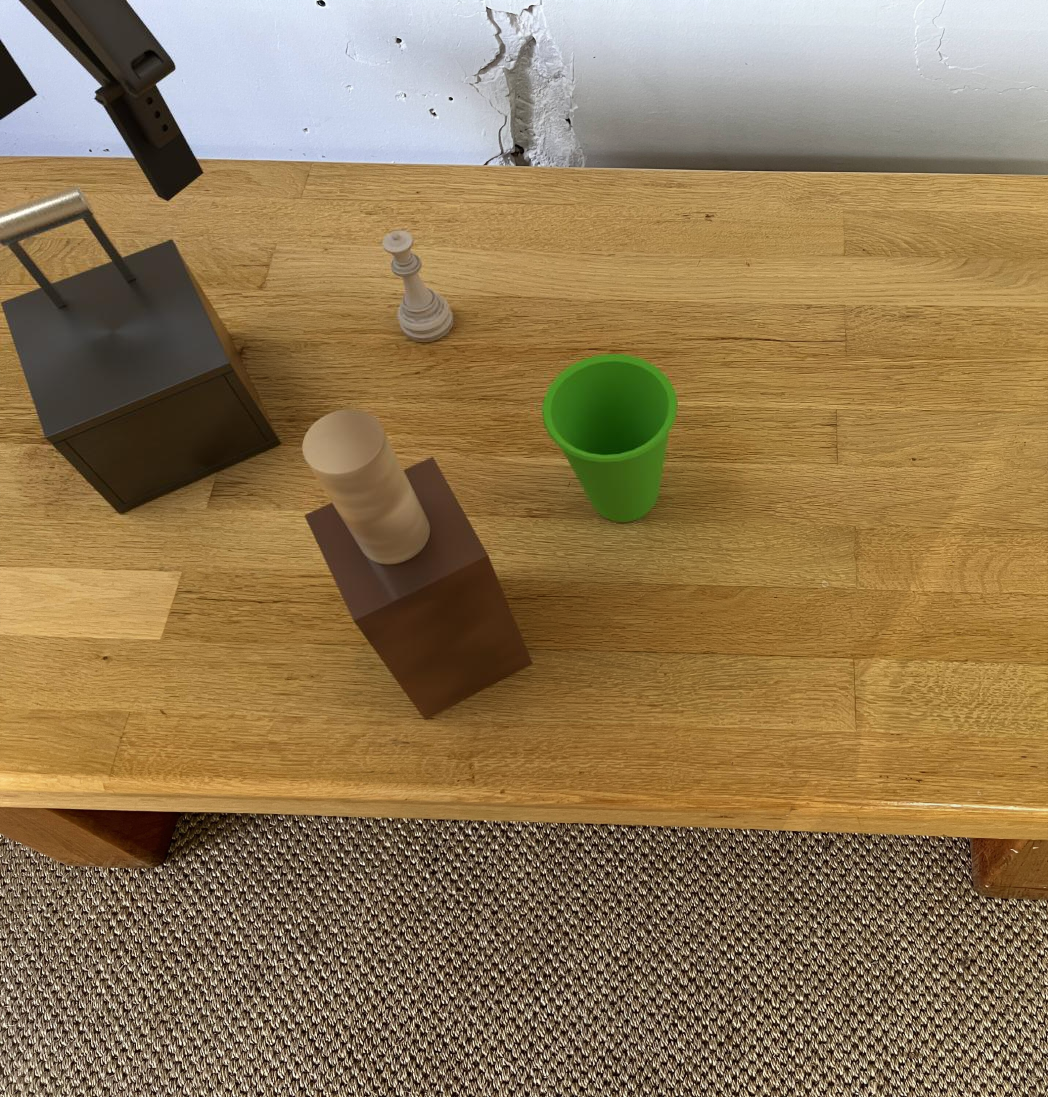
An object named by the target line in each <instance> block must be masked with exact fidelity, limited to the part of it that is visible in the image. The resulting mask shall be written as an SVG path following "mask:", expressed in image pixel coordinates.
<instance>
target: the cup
mask: <svg viewBox="0 0 1048 1097" xmlns="http://www.w3.org/2000/svg"><path fill="white" fill-rule="evenodd" d="M677 398H678V397H677V394H676V389H675V388H674V386H673V384H672V382H671V380H670V379H669V378H668V376H667V375H665V373H663V372H662V371H661V370H660V369H659V368H658V366H655V365H654V364H652V363H651V362H648V361H647V360H645V359H643V358H639V357H637V356H634V355H630V354H621V353H607V354H597V355H593V356H590V357H586V358H584V359H581V360H579V361H576V362H575V363H573V364H570V365H569V366H568V367H567V368H566V369H564V370H562V372H560V373H559V374H558V375H557V376H556V378H555V379H554V380H553V381H552V382H551V384H549V387H548V389H547V392H546V393H545V396H544V398H543V402H542V407H541V415H542V416H541V417H542V423H543V426H544V428H545V430H546V432H547V435H548V437H549V438H550V439H551V440H552V441H553V442H554V443H555V445H557V446H558V447H559V448H560V449H561V450H562V453H563V454H564V456H565V458H566V459H567V461H568V463H569V465H570V467H571V469H572V470H573V472H574V475H575V476H576V478H577V480H578V482H579V484H580V485H581V487H582V489H583V491H584V493H585V495H586V497H587V498H588V500H589V502H590V504H591V506H592V508H593V509H594V510H595V511H596V513H597V514H599V515H600V516H602V517H604V518H605V519H607V520H610V521H612V522H616V523H617V522H618V523H630V522H634V521H637V520H639V519H641V518H644V517H645V516H646V515H647V514H648V513H649V512H650V511H651V510H652V509H653V508H654V506H655V505H656V504H657V501H658V498H659V495H660V490H661V489H660V488H661V482H662V478H663V470H664V464H665V458H666V453H667V446H668V439H669V434H670V431H671V429H672V428H673V426H674V423H675V420H676V418H677V415H678V403H679V402H678V399H677Z"/></svg>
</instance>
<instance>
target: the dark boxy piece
mask: <svg viewBox="0 0 1048 1097" xmlns="http://www.w3.org/2000/svg"><path fill="white" fill-rule="evenodd" d="M181 257H182V259H183V261H184V263H185V265H186V267H187V269H188V272H189V274H190V276H191V278H192V280H193V282H194V284H195V287H196V289H197V291H198V293H199V295H200V297H201V300H202V302H203V304H204V306H205V308H206V310H207V312H208V315H209V317H210V319H211V321H212V323H213V325H214V327H215V330H216V332H217V334H218V336H219V338H220V340H221V342H222V345H223V347H224V349H225V351H226V353H227V355H228V358H229V360H230V362H231V364H232V366H233V368H234V370H232V371H230V372H228V373H225V374H223V375H220V376H218V377H215V378H213V379H211V380H208V381H206V382H203V383H201V384H198V385H196V386H193V387H191V388H189V389H186V390H184V391H181V392H179V393H176V394H174V395H171V396H169V397H167V398H164V399H162V400H159V401H157V402H154V403H152V404H149V405H147V406H145V407H142V408H140V409H137V410H135V411H132V412H130V413H127V414H125V415H123V416H120V417H118V418H115V419H113V420H110V421H108V422H105V423H103V424H101V425H98V426H96V427H93V428H91V429H88V430H86V431H84V432H81V433H79V434H76V435H74V436H71V437H69V438H66V439H64V440H62V441H59V442H57V443H54V444H51V445H52V447H54V448H55V450H56V451H58V453H59V454H60V455H61V456H62V457H63V458H64V460H66V461H67V462H68V463H69V464H70V465H71V466H72V467H73V469H75V470H76V471H77V472H78V474H80V475H81V477H82V478H84V480H85V481H86V482H87V483H88V484H89V485H90V486H91V487H92V488H93V489H94V490H95V491H96V492H97V493H98V494H99V495H100V496H101V497H102V498H103V499H104V500H105V501H106V503H108V504H109V506H111V507H112V509H113V510H115V512H116V513H117V514H118V515H121V514H124V513H126V512H128V511H131V510H133V509H135V508H137V507H140V506H142V505H145V504H148V503H149V502H152V501H154V500H156V499H159V498H161V497H162V496H163V497H164V496H165V495H168V494H170V493H172V492H174V491H178V490H179V489H181V488H184V487H186V486H188V485H191V484H192V483H195V482H197V481H200V480H203V479H204V478H206V477H209V476H211V475H213V474H216V473H218V472H221V471H223V470H225V469H228V468H230V467H232V466H234V465H237V464H239V463H241V462H244V461H246V460H248V459H250V458H253V457H255V456H258V455H260V454H262V453H265V452H267V451H269V450H271V449H274V448H276V447H278V446H280V445H282V441H281V438H280V437H279V435H278V433H277V431H276V429H275V427H274V424H273V422H272V420H271V417H270V416H269V414H268V412H267V410H266V407H265V405H264V403H263V401H262V399H261V397H260V395H259V393H258V391H257V388H256V386H255V385H254V382H253V380H252V378H251V376H250V374H249V372H248V370H247V367H246V365H245V363H244V361H243V359H242V357H241V355H240V353H239V351H238V349H237V346H236V344H235V342H234V340H233V337H232V336H231V334H230V332H229V330H228V328H227V327H226V325H225V323H224V322H223V320H222V318H221V317H220V315H219V313H218V312H217V311H216V309H215V308H214V306H213V304H212V303H211V301H210V299H209V298H208V297H207V295H206V292H205V291H204V290H203V287H201V285H200V283H199V281H198V280H197V278H196V276H195V275H194V274H193V272H192V270H191V268H190V267H189V265H188V264H187V262H186V261H185V259H184V257H183V256H182V255H181Z"/></svg>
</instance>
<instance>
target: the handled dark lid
mask: <svg viewBox="0 0 1048 1097" xmlns="http://www.w3.org/2000/svg"><path fill="white" fill-rule="evenodd" d="M81 220H83V222H84V223H85V224H86V227H87V228H88V229H89V230H90V232H91V233H92V235H93V236H94V237H95V239H96V240H97V242H98V243H99V245H100V246H101V247H102V249H103V250H104V252H105V253H106V255H107V256H108V258H109V259H110V260H111V261H109V262H107V263H104V264H101V265H98V266H95V267H93V268H90V269H88V270H85V271H81V272H79V273H77V274H74V275H71V276H68V277H66V278H63V279H59V280H57V281H55V282H53V281H52V280H51V279H50V278H49V276H48V275H47V274H46V273H45V271H44V270H43V268H41V266H40V264H38V262H37V261H36V260H35V259H34V257H33V256H32V255H31V254H30V252H29V251H28V250H27V248H26V247H25V246H24V245H23V243H22V242H21V241H24V240H27V239H29V238H33V237H35V236H38V235H42V234H43V233H46V232H49V231H52V230H55V229H57V228H61V227H63V226H66V225H69V224H72V223H75V222H77V221H81ZM0 245H1V246H3V247H7V248H9V251H11V252H12V253H13V255H14V256H15V257H16V258H17V260H18V261H19V262H20V263H21V265H22V266H23V267H24V268H25V270H26V271H27V272H28V273H29V275H30V276H31V277H32V279H33V280H34V281H35V282H36V283H37V284H38V286H39V288H36V289H33V290H31V291H28V292H25V293H22V294H20V295H16V296H14V297H12V298H9V299H6V300H4V301H0V305H1V307H2V311H3V314H4V317H5V320H6V323H7V327H8V329H9V332H10V335H11V339H12V341H13V344H14V347H15V351H16V353H17V356H18V359H19V362H20V365H21V368H22V372H23V374H24V378H25V380H26V384H27V387H28V390H29V394H30V396H31V399H32V402H33V406H34V408H35V411H36V414H37V417H38V421H39V424H40V427H41V429H42V432H43V435H44V439H46V441H48V442H49V444H51V445H52V444H54V443H57V442H59V441H62V440H64V439H66V438H69V437H71V436H74V435H76V434H79V433H81V432H84V431H86V430H88V429H91V428H93V427H96V426H98V425H101V424H103V423H105V422H108V421H110V420H113V419H115V418H118V417H120V416H123V415H125V414H127V413H130V412H132V411H135V410H137V409H140V408H142V407H145V406H147V405H149V404H152V403H154V402H157V401H159V400H162V399H164V398H167V397H169V396H171V395H174V394H176V393H179V392H181V391H184V390H186V389H189V388H191V387H193V386H196V385H198V384H201V383H203V382H206V381H208V380H211V379H213V378H215V377H218V376H220V375H223V374H225V373H228V372H230V371H232V370H234V368H233V366H232V364H231V362H230V360H229V358H228V355H227V353H226V351H225V349H224V347H223V345H222V342H221V340H220V338H219V336H218V334H217V332H216V330H215V327H214V325H213V323H212V321H211V319H210V317H209V315H208V312H207V310H206V308H205V306H204V304H203V302H202V300H201V297H200V295H199V293H198V291H197V289H196V287H195V284H194V282H193V280H192V278H191V276H190V274H189V272H188V269H187V267H186V265H185V263H184V261H183V259H184V258H183V259H182V257H183V256H182V254H181V252H180V251H179V248H178V246H177V244H176V243H175V241H174V240H173V239H168V240H166V241H163V242H160V243H158V244H154V245H152V246H149V247H146V248H144V249H141V250H139V251H136V252H134V253H130V254H129V255H125V256H123V255H122V253H121V252H120V251H119V249H118V248H117V246H116V245H115V243H114V242H113V240H112V239H111V237H110V236H109V234H108V232H106V231H105V228H104V227H103V226H102V224H101V223H100V222H99V220H98V219H97V217H96V215H95V212H94V208H93V207H92V205H91V203H90V202H89V200H88V199H87V197H86V195H85V193H84V192H83V190H82V189H81V188H80V187H79V186H78V185H75V186H72V187H68V188H67V189H66V188H65V189H63V190H60V191H57V192H55V193H52V194H48V195H46V196H43V197H40V198H38V199H35V200H31V201H27V202H25V203H23V204H20V205H17V206H15V207H12V208H9V209H5V210H2V211H0ZM181 256H182V257H181Z"/></svg>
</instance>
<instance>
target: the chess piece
mask: <svg viewBox="0 0 1048 1097" xmlns="http://www.w3.org/2000/svg"><path fill="white" fill-rule="evenodd" d="M414 242H415V241H414V237H413V236H412V234H411V233H410V232H408V231H405V230H393V231H392V232H389V233H388V234H387V235H385V236H384V237H383V239H382V242H381V243H382V248H383V250H384V251H385V252H387V253H388V254H390V255H392V256H393V258H392V259H391V261H390V269H391V272H392V273H393V274H394V275H395V276H397V277H399V278H401V279H402V281H403V285H404V286H403V287H404V294H403V295H402V297H401V303H400V305H399V307H398V310H397V320H398V322H399V326H400V329H401V331H402V333H403V334H404V335H405V337H406V338H408V339H409V340H411V341H414V342H417V343H428V342H429V343H430V342H433V341H438V340H439V339H441V338H443V337H445V335H447V334H448V333H449V332H450V330H451V329H452V328H453V325H454V315H453V312H452V309H451V307H450V305H449V302H448V300H447V299H446V298H445V297H443V296H442V295H440V294H439V293H437V292H435V291H434V290H433V289H432V288H430V287H428V286H426V285H425V284H424V282H423V280H422V279H421V276H420V274H419V272H420V271H421V269H422V265H423V263H422V260H421V257H420V256H419V255H418V254H416V253H413V252H412V251H411V249H412V248H413V247H414Z"/></svg>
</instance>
